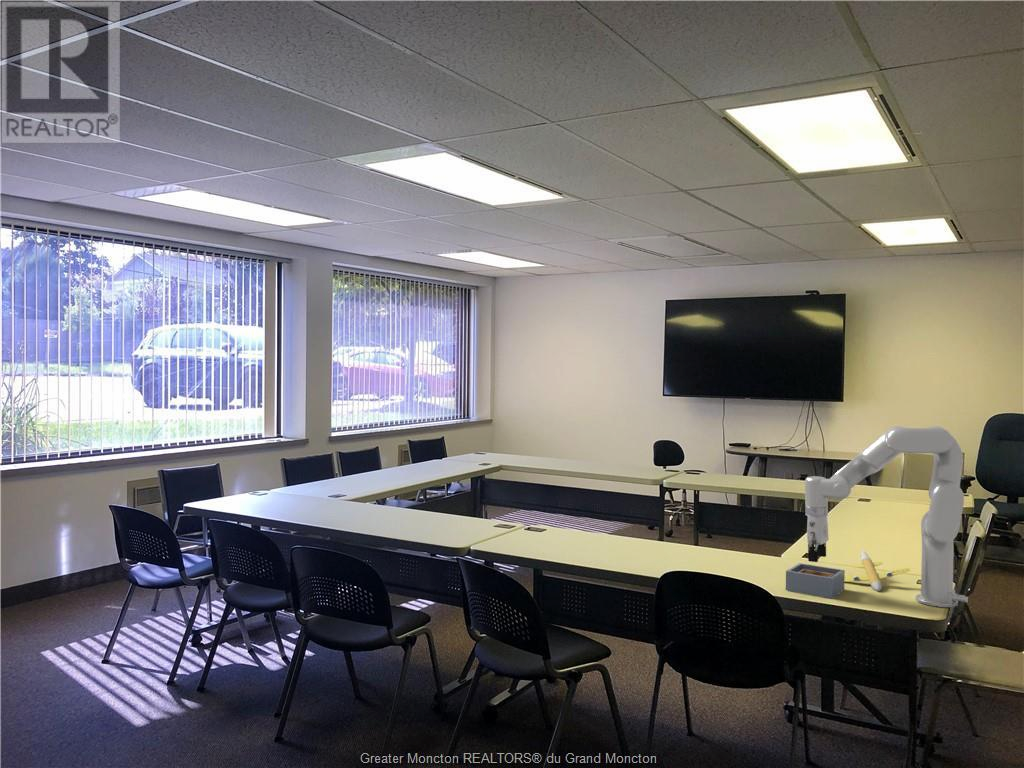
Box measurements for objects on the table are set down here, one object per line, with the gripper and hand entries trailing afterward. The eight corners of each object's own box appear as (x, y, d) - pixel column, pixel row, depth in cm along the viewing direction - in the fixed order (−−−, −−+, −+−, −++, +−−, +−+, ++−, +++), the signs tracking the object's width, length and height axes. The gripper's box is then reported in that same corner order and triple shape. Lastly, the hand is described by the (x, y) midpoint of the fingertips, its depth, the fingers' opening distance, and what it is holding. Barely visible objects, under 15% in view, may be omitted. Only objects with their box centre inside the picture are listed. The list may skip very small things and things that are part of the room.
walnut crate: (834, 587, 278) (834, 574, 278) (828, 591, 273) (828, 577, 273) (802, 582, 285) (802, 569, 284) (797, 586, 279) (797, 572, 279)
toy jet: (920, 597, 274) (900, 557, 302) (916, 579, 272) (896, 540, 300) (844, 609, 281) (831, 569, 309) (839, 591, 280) (827, 552, 308)
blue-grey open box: (844, 589, 280) (844, 570, 279) (832, 598, 268) (832, 578, 268) (799, 581, 289) (799, 563, 289) (785, 590, 278) (785, 570, 278)
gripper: (820, 515, 269) (820, 565, 269) (834, 508, 283) (835, 555, 283) (798, 513, 274) (798, 562, 274) (813, 507, 287) (814, 553, 287)
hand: (817, 558), depth 278 cm, fingers open, 9 cm apart
